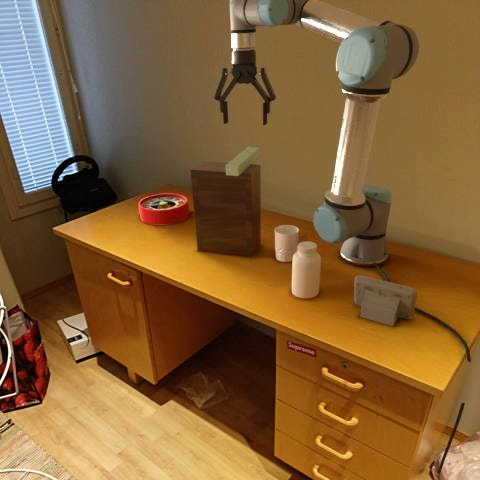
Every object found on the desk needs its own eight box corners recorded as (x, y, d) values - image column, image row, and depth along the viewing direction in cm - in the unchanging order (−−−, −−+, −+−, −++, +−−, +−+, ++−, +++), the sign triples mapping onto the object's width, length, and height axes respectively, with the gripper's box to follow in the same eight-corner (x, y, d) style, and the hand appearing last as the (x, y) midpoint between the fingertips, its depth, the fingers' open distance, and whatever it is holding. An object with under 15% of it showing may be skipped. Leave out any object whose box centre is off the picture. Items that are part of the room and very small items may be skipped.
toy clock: (192, 206, 176) (141, 213, 171) (193, 220, 179) (143, 227, 174) (182, 191, 192) (135, 196, 187) (183, 204, 195) (137, 210, 190)
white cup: (296, 263, 146) (297, 235, 140) (272, 262, 147) (272, 233, 142) (298, 253, 152) (300, 225, 146) (275, 251, 154) (276, 224, 148)
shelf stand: (252, 258, 150) (251, 173, 134) (197, 251, 156) (190, 169, 140) (260, 245, 158) (260, 164, 142) (208, 239, 163) (202, 161, 148)
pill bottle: (300, 282, 135) (303, 236, 127) (323, 290, 131) (328, 243, 123) (285, 293, 130) (287, 246, 122) (309, 302, 126) (312, 254, 118)
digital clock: (416, 318, 118) (424, 283, 112) (400, 334, 113) (408, 298, 107) (361, 298, 127) (366, 264, 121) (344, 311, 122) (348, 276, 116)
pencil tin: (238, 176, 133) (238, 165, 131) (225, 175, 134) (225, 164, 132) (259, 156, 150) (259, 147, 148) (248, 156, 151) (247, 147, 149)
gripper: (286, 48, 137) (284, 122, 149) (209, 49, 143) (213, 120, 155) (280, 49, 131) (279, 127, 143) (201, 50, 137) (206, 124, 149)
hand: (245, 123), depth 149 cm, fingers open, 13 cm apart
